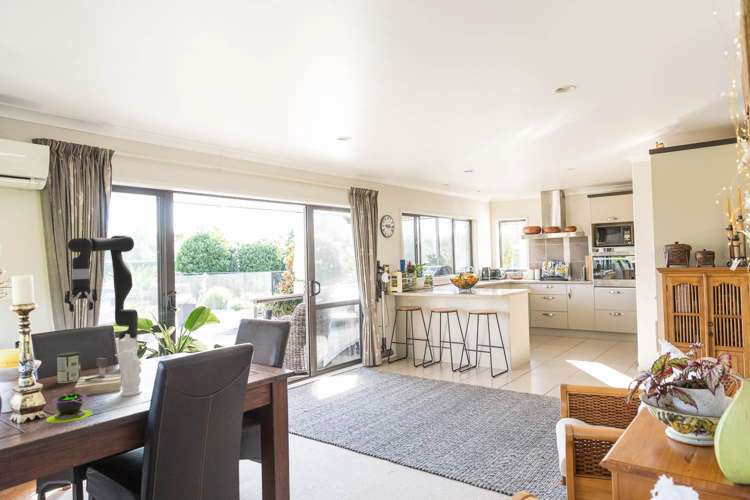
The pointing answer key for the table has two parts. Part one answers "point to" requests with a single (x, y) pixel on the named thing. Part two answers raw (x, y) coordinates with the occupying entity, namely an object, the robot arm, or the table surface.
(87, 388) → the dial board
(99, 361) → the lever
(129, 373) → the cherub figurine
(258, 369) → the table surface
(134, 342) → the milk
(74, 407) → the toy cauldron
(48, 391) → the table surface
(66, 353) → the grey-green carton
